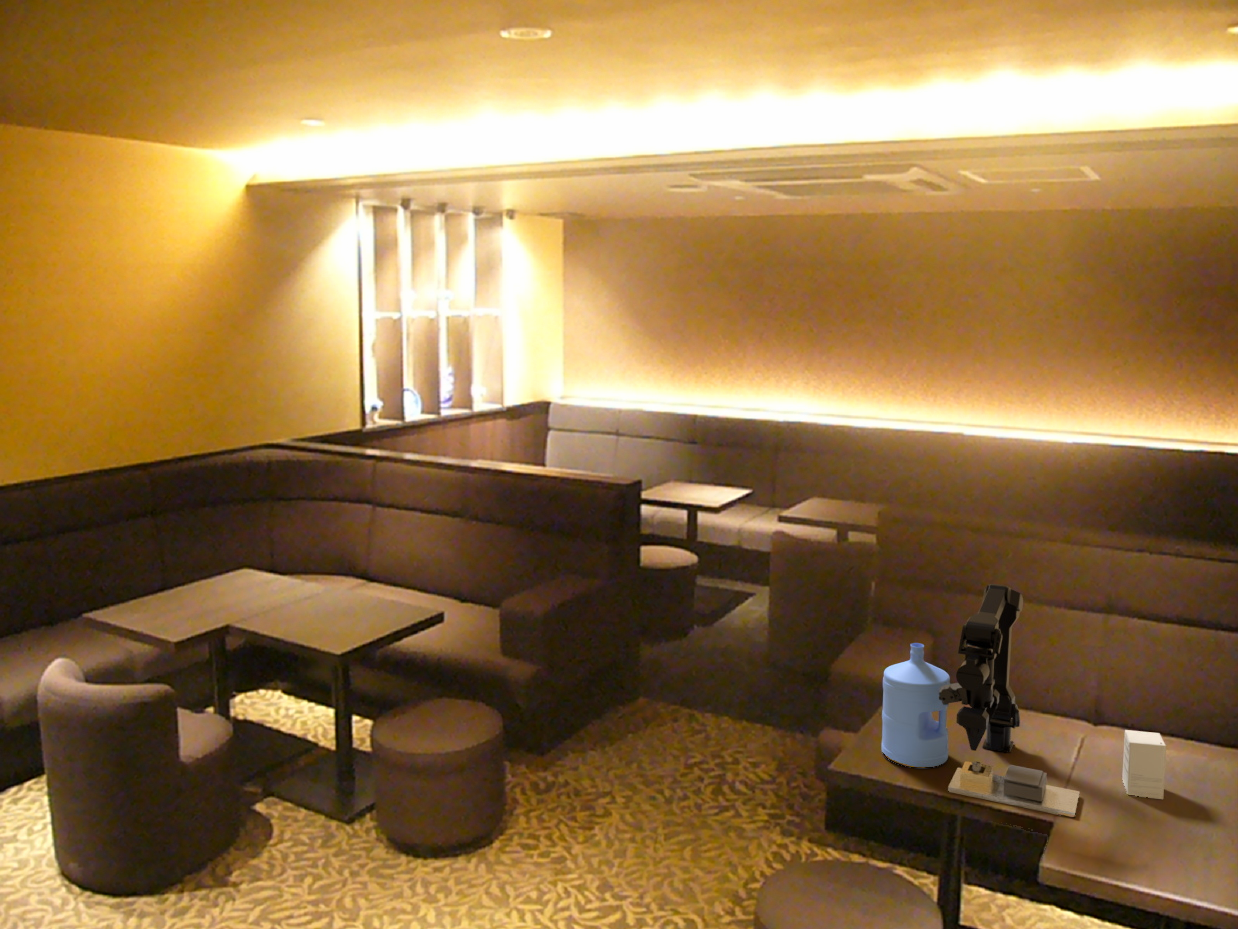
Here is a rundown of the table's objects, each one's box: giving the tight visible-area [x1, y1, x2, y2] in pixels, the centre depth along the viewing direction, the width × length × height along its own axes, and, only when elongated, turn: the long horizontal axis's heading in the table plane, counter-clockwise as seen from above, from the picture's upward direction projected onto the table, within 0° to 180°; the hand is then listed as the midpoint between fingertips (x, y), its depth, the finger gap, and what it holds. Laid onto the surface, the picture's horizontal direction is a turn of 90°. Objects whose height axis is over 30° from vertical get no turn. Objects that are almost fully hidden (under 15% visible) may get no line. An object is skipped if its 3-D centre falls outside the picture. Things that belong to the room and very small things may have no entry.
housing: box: [1004, 764, 1048, 802], centre depth 218 cm, size 8×8×4 cm
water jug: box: [881, 642, 951, 768], centre depth 238 cm, size 16×16×28 cm
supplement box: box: [1121, 729, 1167, 800], centre depth 219 cm, size 7×7×13 cm
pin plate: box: [947, 760, 1081, 816], centre depth 219 cm, size 11×26×6 cm, turn 61°
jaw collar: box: [960, 761, 994, 790], centre depth 223 cm, size 6×6×3 cm
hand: (977, 742), depth 222 cm, fingers open, 9 cm apart
